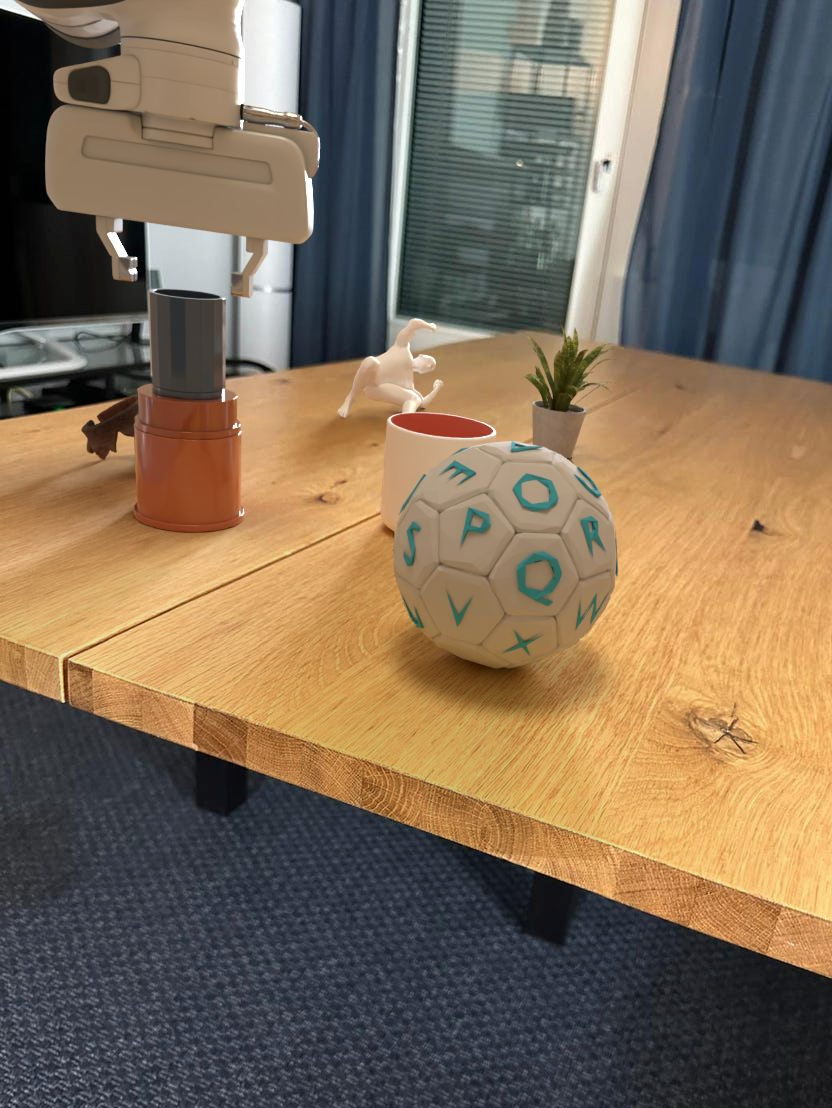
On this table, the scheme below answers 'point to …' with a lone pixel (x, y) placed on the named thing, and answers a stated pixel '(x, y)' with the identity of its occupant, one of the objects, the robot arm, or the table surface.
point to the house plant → (562, 395)
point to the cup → (422, 452)
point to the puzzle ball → (505, 554)
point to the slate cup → (187, 343)
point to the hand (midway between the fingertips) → (183, 288)
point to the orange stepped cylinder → (187, 462)
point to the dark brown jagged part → (111, 427)
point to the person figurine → (395, 374)
